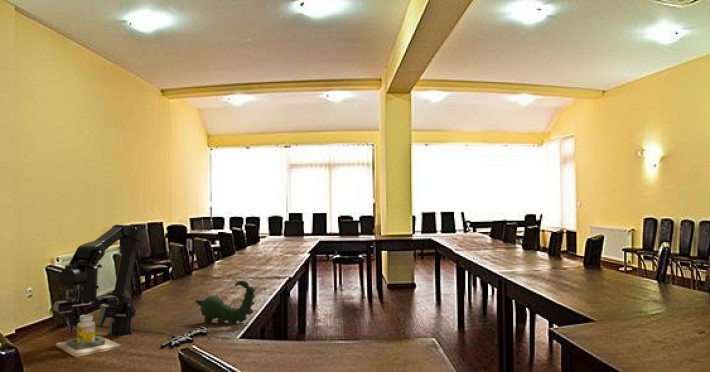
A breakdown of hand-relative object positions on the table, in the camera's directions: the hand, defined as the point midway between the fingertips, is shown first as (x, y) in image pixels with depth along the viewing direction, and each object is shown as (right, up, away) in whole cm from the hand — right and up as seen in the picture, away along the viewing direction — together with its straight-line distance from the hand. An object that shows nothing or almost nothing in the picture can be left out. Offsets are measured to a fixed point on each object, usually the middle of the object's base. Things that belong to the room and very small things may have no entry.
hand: (85, 329), depth 164 cm
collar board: (+1, -6, +1) cm, 6 cm away
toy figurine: (+36, -9, +38) cm, 53 cm away
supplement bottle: (0, -5, 0) cm, 5 cm away
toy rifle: (+29, -8, +13) cm, 33 cm away
